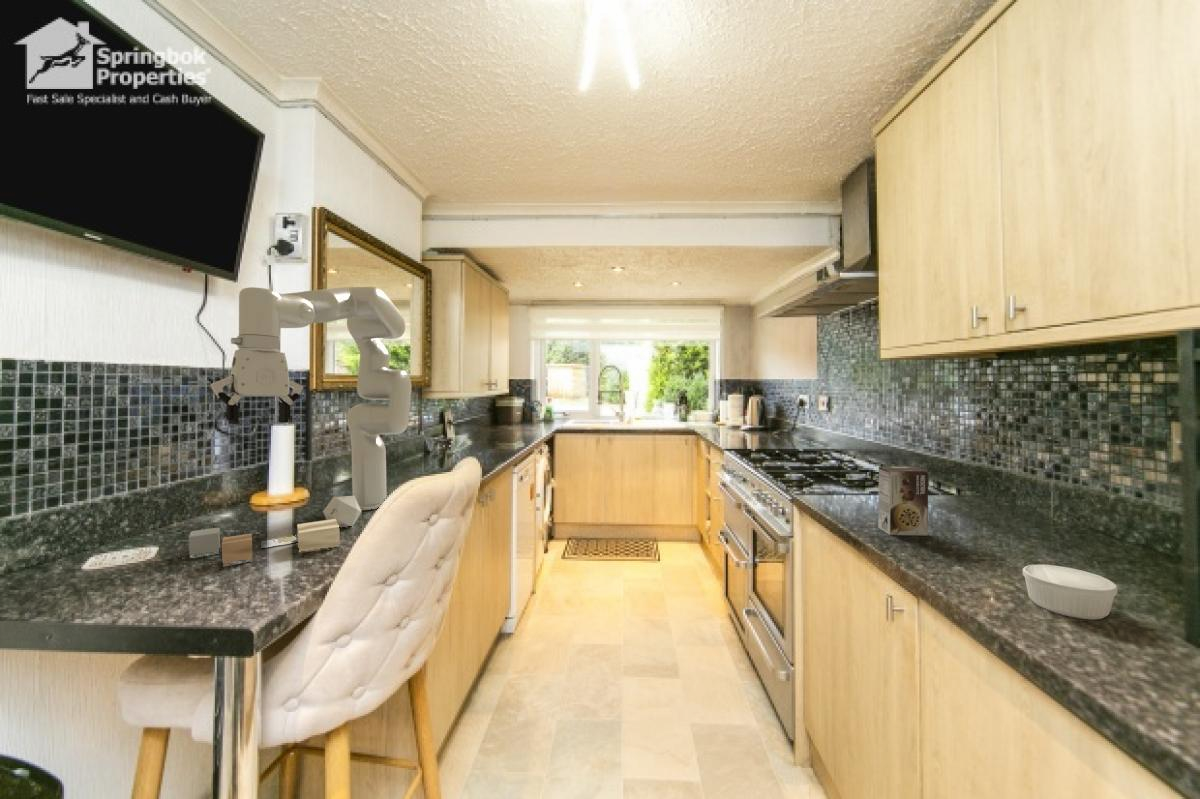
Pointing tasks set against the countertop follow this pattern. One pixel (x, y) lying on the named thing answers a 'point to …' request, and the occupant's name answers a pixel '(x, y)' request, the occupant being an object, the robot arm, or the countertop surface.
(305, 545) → the birch base block
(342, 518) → the die
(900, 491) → the cookie box
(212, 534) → the slate block
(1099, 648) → the countertop surface
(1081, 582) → the ramekin
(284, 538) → the card
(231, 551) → the walnut block
